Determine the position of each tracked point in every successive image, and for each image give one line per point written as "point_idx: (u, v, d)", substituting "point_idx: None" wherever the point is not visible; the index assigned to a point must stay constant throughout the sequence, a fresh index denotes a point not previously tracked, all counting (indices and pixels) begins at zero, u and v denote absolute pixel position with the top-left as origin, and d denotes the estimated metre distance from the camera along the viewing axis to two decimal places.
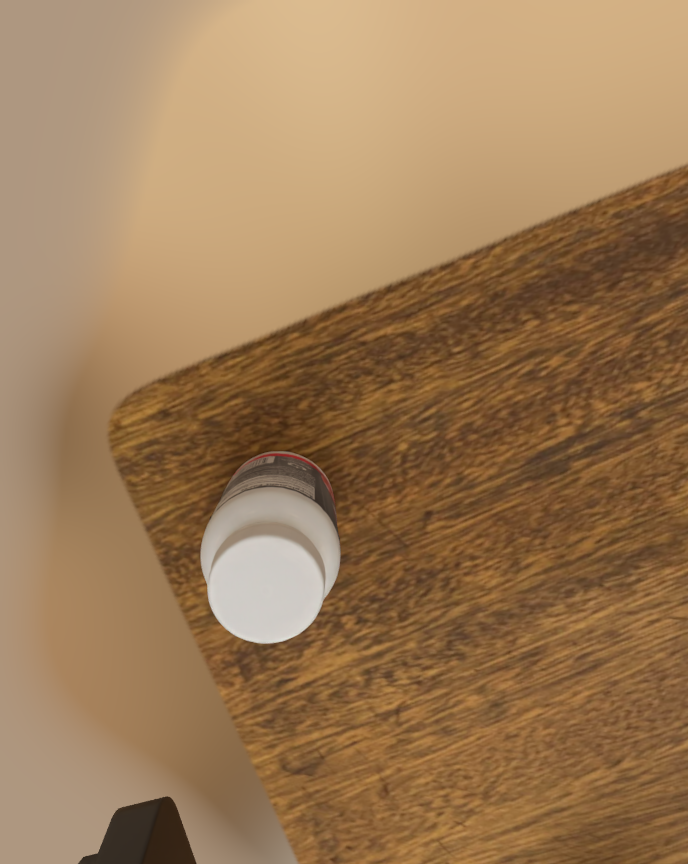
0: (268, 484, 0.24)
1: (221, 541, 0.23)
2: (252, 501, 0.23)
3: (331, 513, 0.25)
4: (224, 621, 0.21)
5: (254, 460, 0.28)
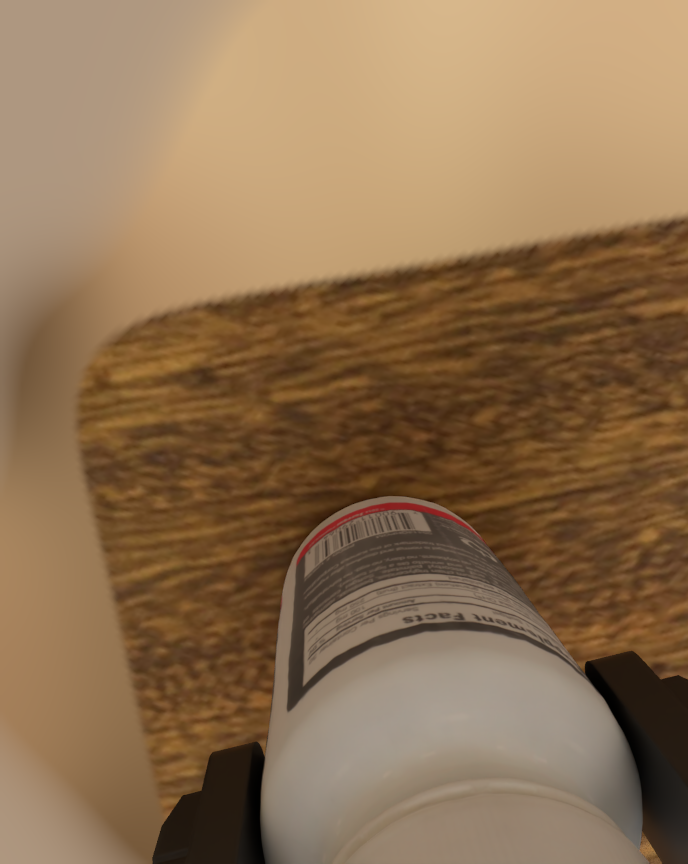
0: (480, 620, 0.09)
1: (348, 783, 0.08)
2: (461, 680, 0.08)
3: None
4: None
5: (376, 512, 0.13)
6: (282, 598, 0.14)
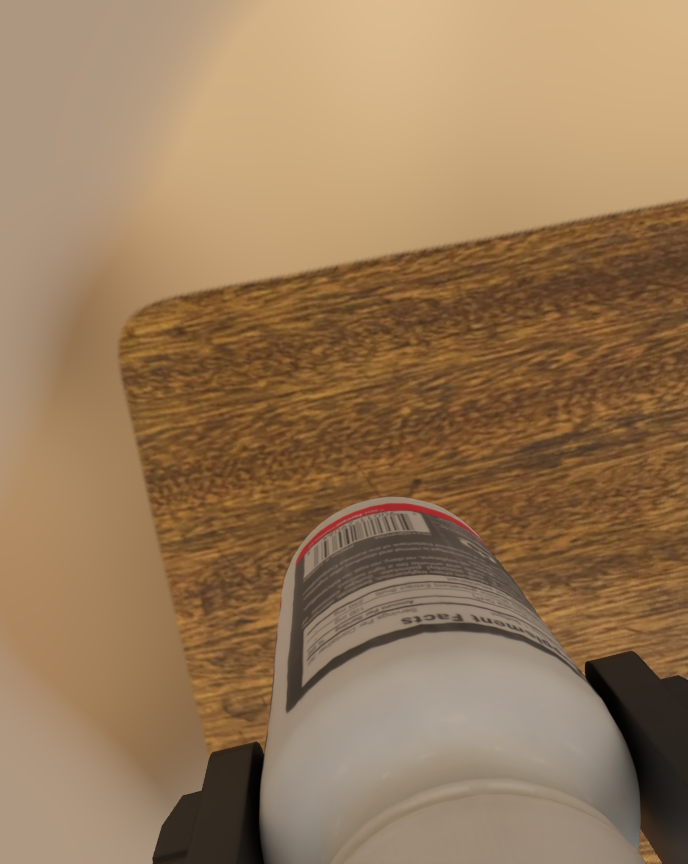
0: (479, 621, 0.09)
1: (346, 784, 0.08)
2: (459, 681, 0.08)
3: None
4: None
5: (375, 513, 0.13)
6: (281, 598, 0.14)
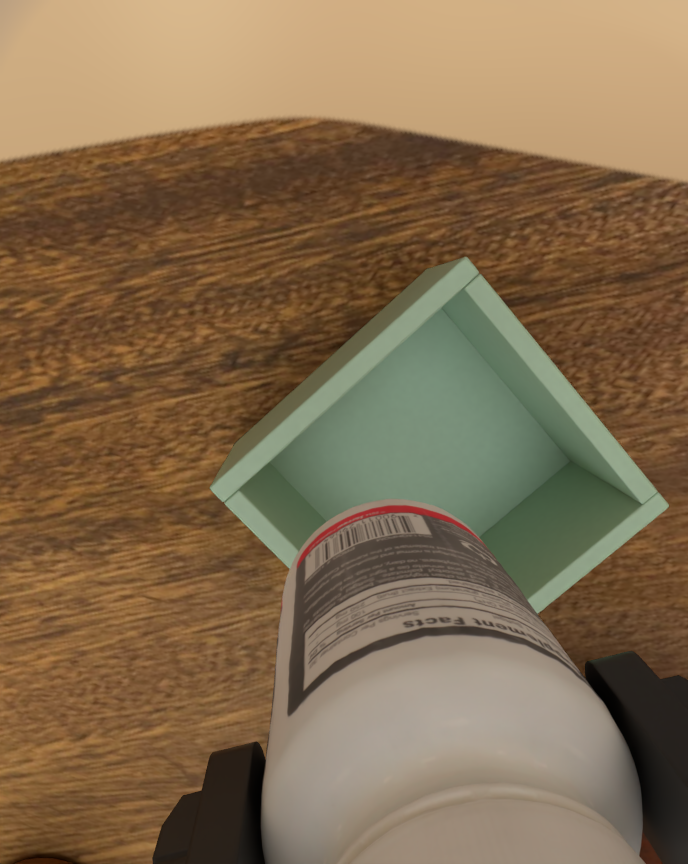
0: (481, 624, 0.09)
1: (348, 788, 0.08)
2: (461, 685, 0.08)
3: None
4: None
5: (376, 515, 0.13)
6: (282, 601, 0.14)
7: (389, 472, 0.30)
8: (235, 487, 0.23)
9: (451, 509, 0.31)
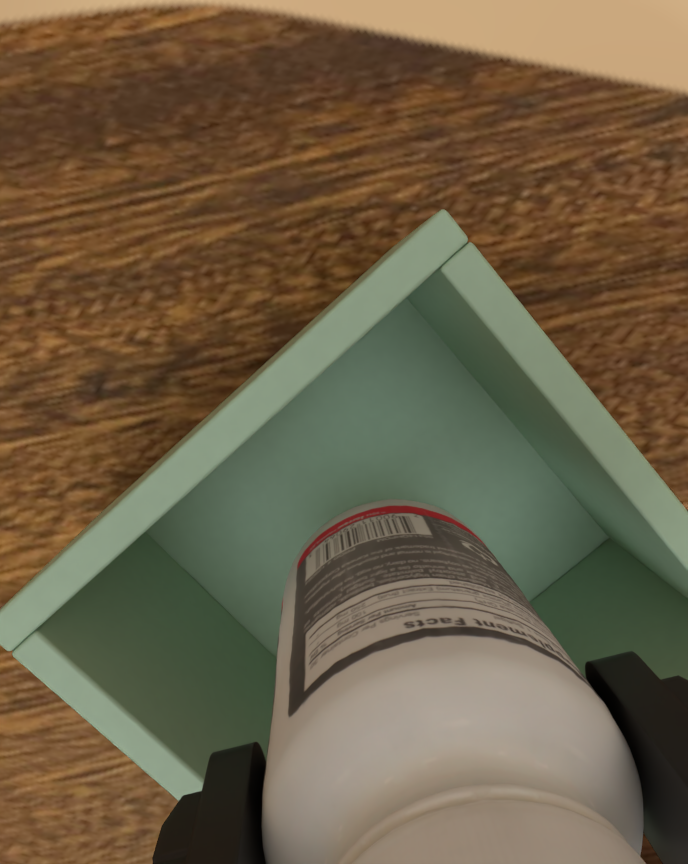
0: (482, 625, 0.09)
1: (349, 789, 0.08)
2: (462, 685, 0.08)
3: None
4: None
5: (377, 515, 0.13)
6: (283, 601, 0.14)
7: None
8: (29, 626, 0.13)
9: None
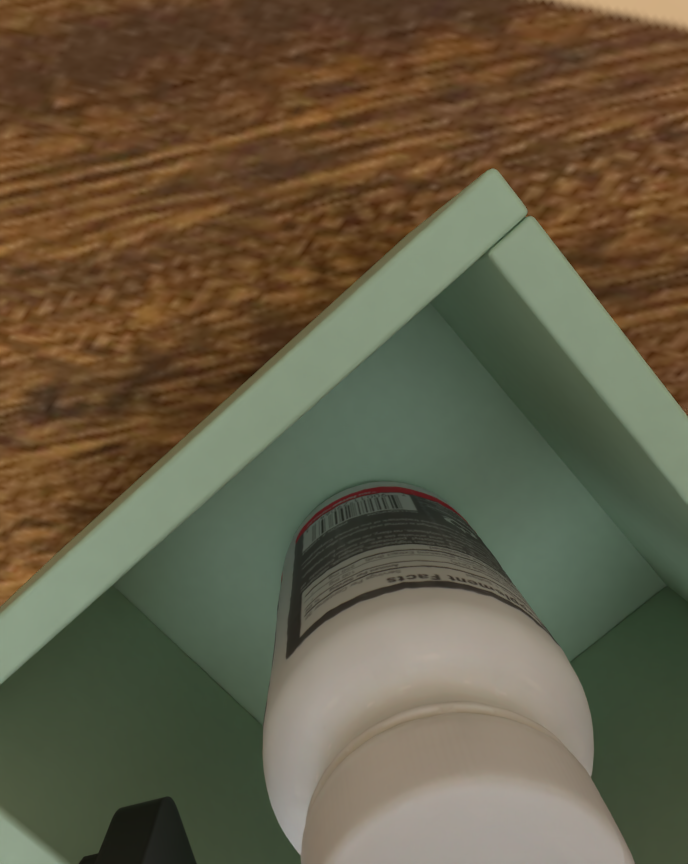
0: (455, 579, 0.10)
1: (337, 713, 0.09)
2: (433, 626, 0.09)
3: None
4: None
5: (368, 494, 0.15)
6: (282, 573, 0.15)
7: None
8: None
9: None
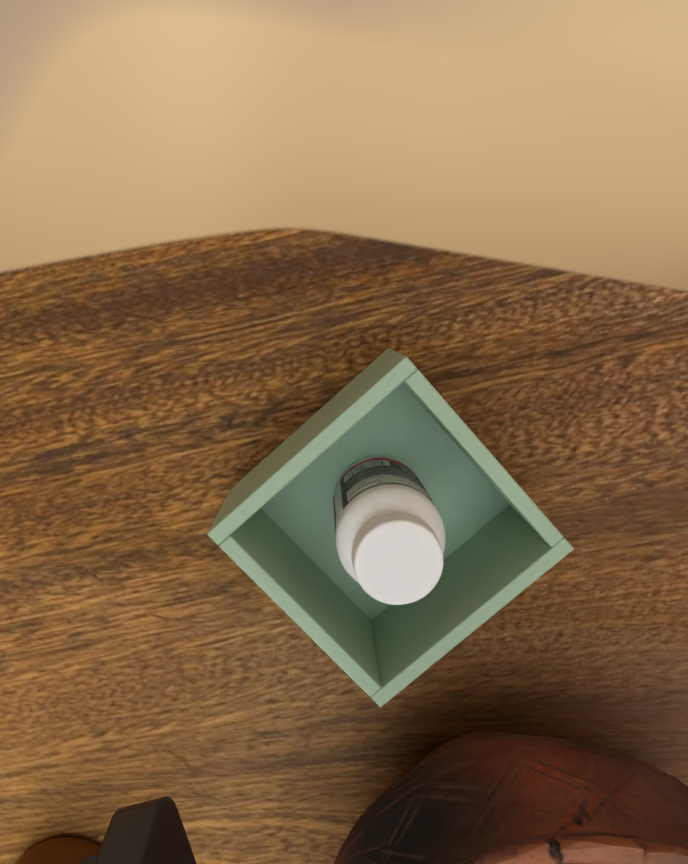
0: (399, 483, 0.30)
1: (361, 519, 0.29)
2: (391, 493, 0.29)
3: None
4: (362, 580, 0.27)
5: (371, 460, 0.35)
6: (334, 495, 0.35)
7: None
8: (227, 533, 0.29)
9: None
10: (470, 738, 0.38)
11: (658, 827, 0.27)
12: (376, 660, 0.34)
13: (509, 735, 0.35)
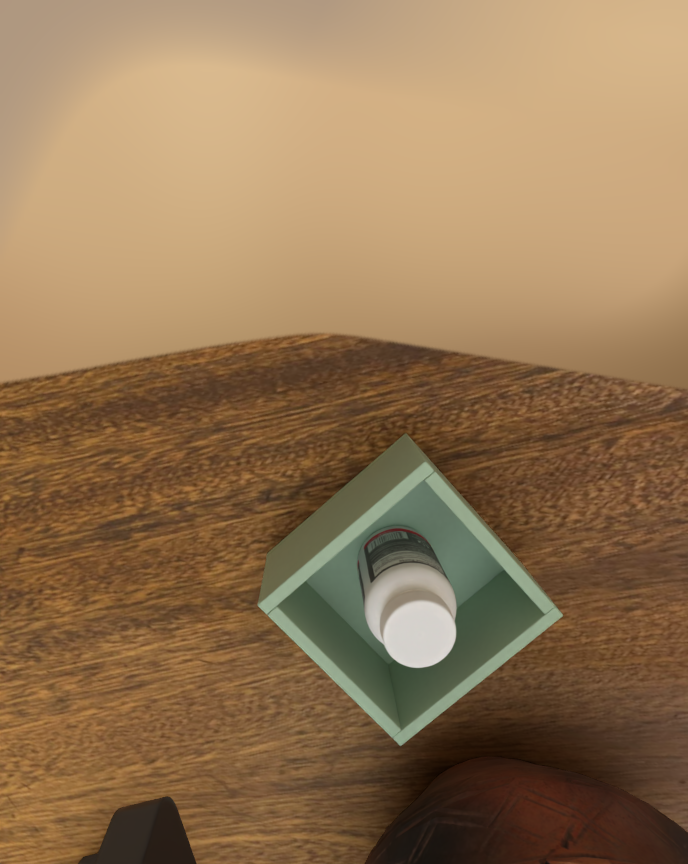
0: (418, 561, 0.36)
1: (387, 594, 0.35)
2: (411, 572, 0.35)
3: None
4: (389, 648, 0.33)
5: (390, 532, 0.40)
6: (359, 560, 0.41)
7: None
8: (274, 604, 0.35)
9: None
10: (473, 765, 0.44)
11: (630, 849, 0.33)
12: (395, 703, 0.39)
13: (507, 764, 0.41)
